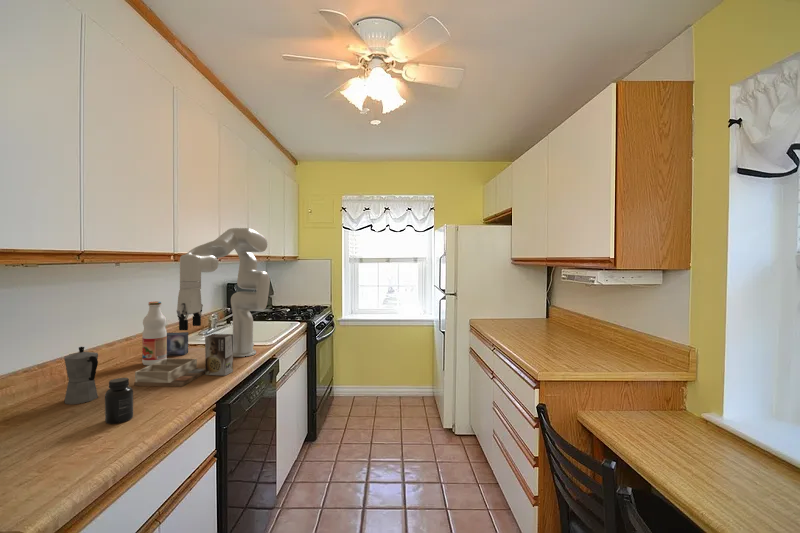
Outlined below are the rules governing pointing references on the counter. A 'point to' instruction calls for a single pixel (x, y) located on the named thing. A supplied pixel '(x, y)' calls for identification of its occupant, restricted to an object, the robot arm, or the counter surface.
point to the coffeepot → (81, 377)
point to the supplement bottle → (118, 401)
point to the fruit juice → (154, 335)
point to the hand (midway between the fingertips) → (190, 327)
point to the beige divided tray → (169, 373)
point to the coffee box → (219, 354)
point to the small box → (177, 344)
